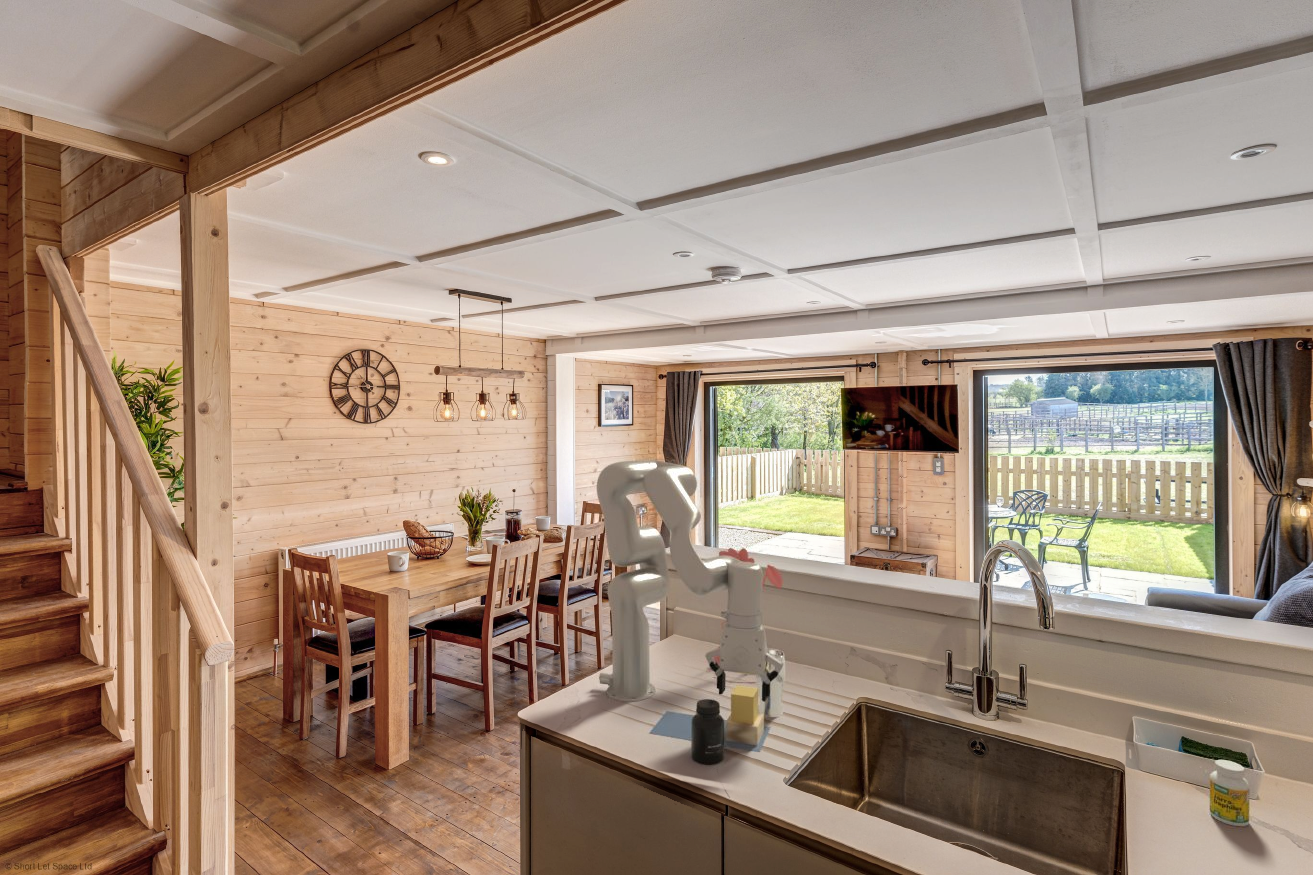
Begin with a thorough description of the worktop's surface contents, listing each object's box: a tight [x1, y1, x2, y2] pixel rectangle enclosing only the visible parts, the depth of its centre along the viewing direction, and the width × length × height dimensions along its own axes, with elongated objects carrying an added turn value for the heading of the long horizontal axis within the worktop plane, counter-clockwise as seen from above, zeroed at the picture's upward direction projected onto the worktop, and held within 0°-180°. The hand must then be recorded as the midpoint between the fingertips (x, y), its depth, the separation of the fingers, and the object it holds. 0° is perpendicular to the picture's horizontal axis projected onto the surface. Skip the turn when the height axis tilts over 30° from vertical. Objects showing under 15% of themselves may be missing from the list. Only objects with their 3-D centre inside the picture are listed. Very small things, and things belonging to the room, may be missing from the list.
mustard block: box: [730, 685, 759, 725], centre depth 150 cm, size 5×5×6 cm
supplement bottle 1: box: [690, 698, 725, 766], centre depth 141 cm, size 7×7×12 cm
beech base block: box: [726, 713, 765, 746], centre depth 150 cm, size 7×7×4 cm
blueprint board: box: [648, 710, 771, 753], centre depth 153 cm, size 25×12×1 cm, turn 70°
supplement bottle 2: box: [1209, 759, 1251, 827], centre depth 120 cm, size 5×5×10 cm
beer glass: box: [755, 647, 786, 718], centre depth 162 cm, size 7×7×15 cm
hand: (743, 695), depth 150 cm, fingers open, 9 cm apart
